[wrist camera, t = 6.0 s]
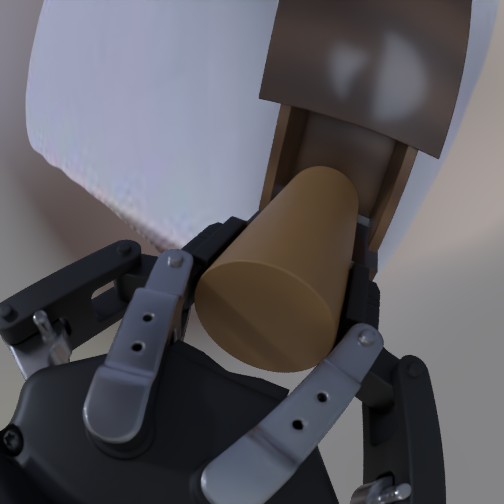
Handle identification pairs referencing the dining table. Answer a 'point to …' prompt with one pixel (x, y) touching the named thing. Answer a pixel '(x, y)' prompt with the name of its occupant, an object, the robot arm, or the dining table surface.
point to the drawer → (342, 169)
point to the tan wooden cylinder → (285, 276)
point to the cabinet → (372, 64)
